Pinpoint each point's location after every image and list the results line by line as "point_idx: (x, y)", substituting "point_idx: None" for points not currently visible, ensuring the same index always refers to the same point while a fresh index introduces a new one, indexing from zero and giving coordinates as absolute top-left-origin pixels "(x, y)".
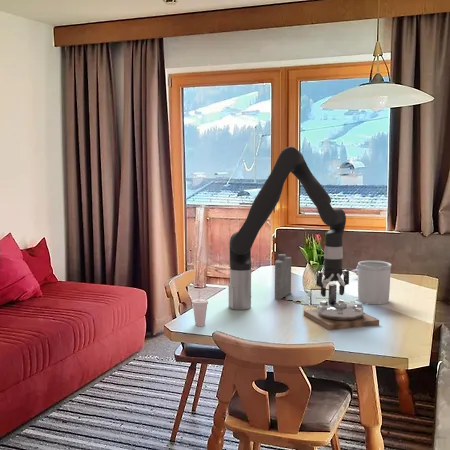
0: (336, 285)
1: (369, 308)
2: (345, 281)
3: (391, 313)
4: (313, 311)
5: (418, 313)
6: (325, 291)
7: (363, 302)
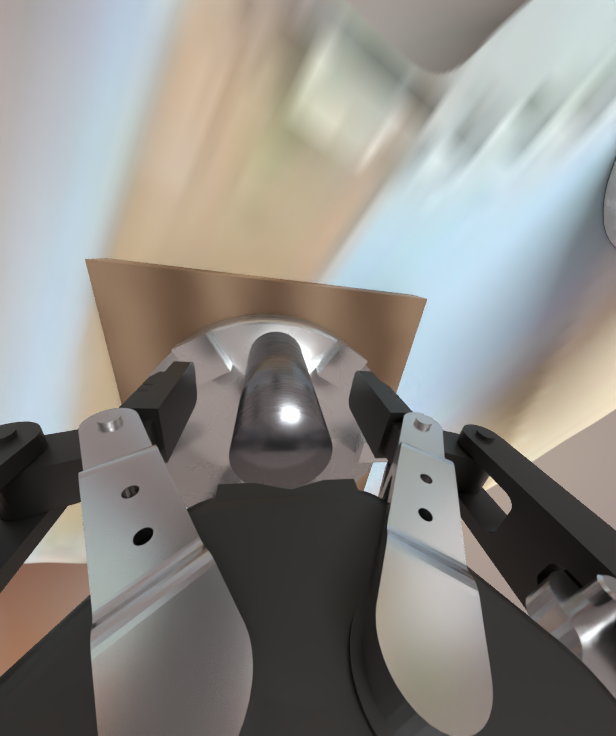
0: (314, 474)
1: (517, 295)
2: (470, 477)
3: (504, 392)
4: (152, 309)
5: (562, 419)
6: (176, 434)
7: (613, 170)
